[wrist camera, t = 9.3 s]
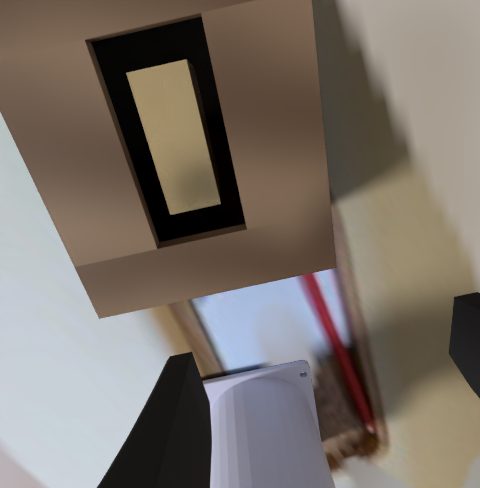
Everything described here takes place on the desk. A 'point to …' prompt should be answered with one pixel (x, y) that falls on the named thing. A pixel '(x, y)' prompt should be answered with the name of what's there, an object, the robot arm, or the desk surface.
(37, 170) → the walnut coin box
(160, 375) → the robot arm
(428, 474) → the desk surface
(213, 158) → the block
